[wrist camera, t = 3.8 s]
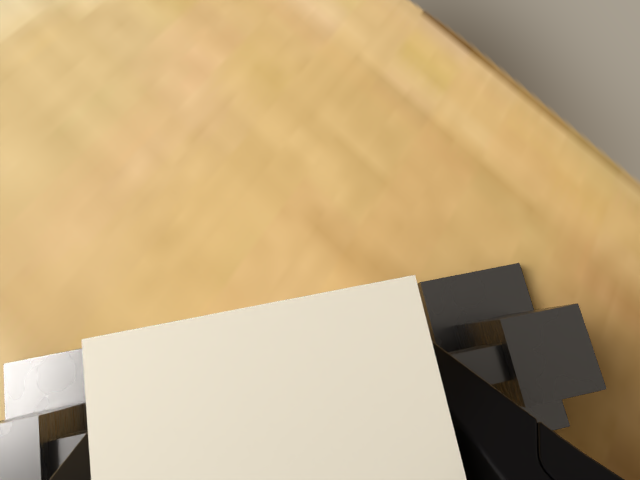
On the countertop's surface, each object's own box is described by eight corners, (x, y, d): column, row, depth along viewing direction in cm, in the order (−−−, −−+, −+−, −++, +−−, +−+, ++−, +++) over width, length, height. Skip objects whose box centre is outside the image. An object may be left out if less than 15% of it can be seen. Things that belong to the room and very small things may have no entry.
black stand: (559, 423, 16) (657, 452, 12) (20, 550, 14) (-100, 640, 10) (511, 265, 17) (582, 239, 13) (14, 363, 15) (-94, 369, 11)
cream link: (372, 446, 15) (501, 618, 6) (232, 478, 15) (108, 726, 5) (345, 317, 16) (415, 274, 7) (213, 343, 16) (81, 339, 6)
